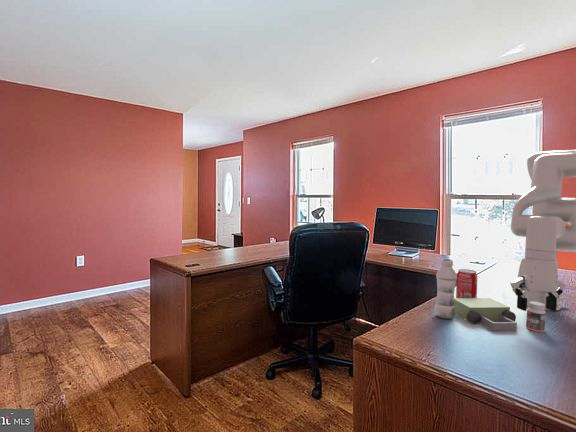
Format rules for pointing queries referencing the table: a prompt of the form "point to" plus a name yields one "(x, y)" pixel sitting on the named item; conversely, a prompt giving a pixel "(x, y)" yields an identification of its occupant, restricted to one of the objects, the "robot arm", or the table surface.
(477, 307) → the cart
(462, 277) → the soda can
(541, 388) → the table surface
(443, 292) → the metal bottle
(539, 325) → the pill bottle
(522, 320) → the table surface
